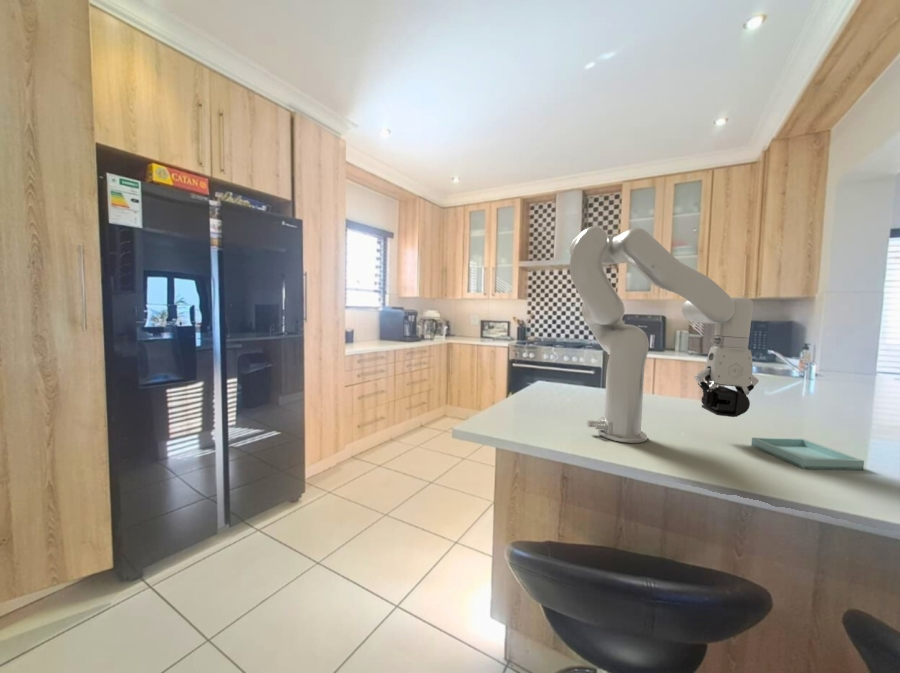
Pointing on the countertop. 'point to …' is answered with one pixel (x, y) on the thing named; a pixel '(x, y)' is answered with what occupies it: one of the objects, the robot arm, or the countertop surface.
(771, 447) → the tray
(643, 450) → the countertop surface
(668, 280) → the robot arm
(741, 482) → the countertop surface
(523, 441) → the countertop surface
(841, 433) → the countertop surface
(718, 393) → the end cap
